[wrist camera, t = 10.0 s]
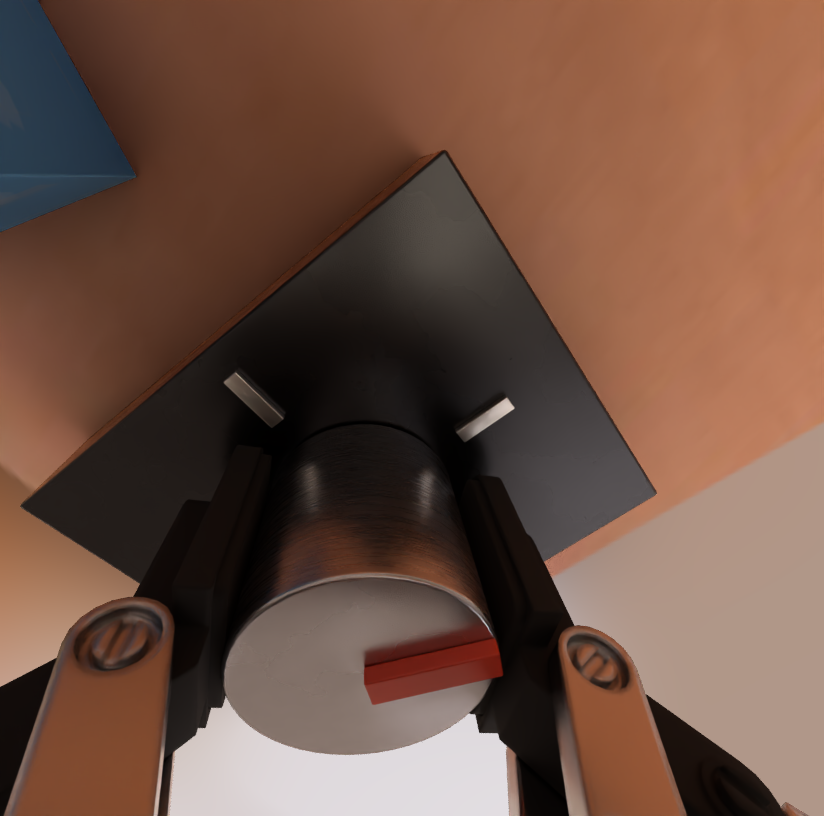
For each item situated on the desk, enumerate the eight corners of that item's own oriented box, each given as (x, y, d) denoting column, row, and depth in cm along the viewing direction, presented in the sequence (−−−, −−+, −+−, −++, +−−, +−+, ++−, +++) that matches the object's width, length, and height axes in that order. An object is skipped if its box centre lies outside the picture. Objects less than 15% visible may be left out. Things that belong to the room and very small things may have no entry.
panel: (86, 440, 13) (12, 511, 10) (424, 154, 11) (447, 146, 8) (323, 617, 17) (316, 703, 14) (605, 438, 15) (662, 498, 12)
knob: (302, 583, 12) (272, 798, 8) (243, 446, 10) (161, 635, 6) (463, 547, 12) (517, 742, 8) (435, 403, 10) (487, 561, 6)
